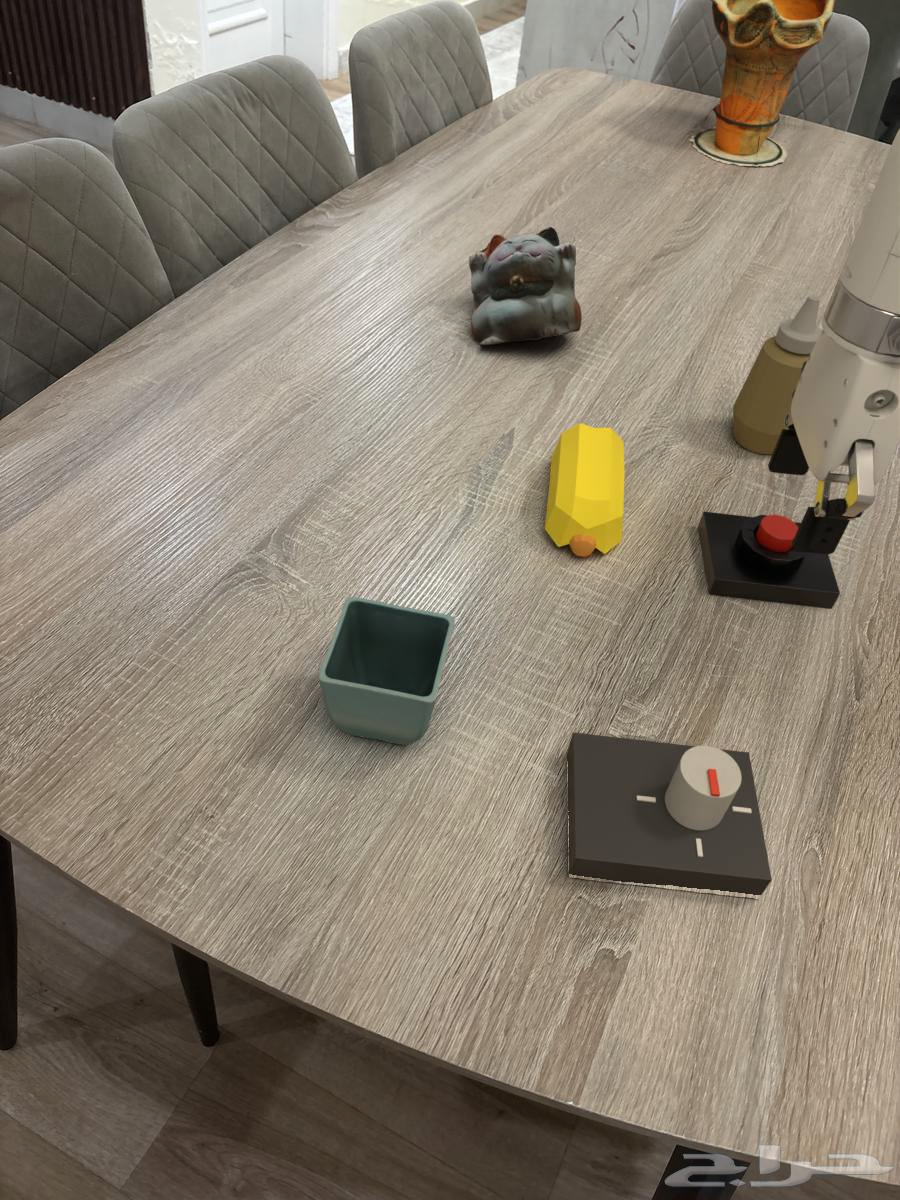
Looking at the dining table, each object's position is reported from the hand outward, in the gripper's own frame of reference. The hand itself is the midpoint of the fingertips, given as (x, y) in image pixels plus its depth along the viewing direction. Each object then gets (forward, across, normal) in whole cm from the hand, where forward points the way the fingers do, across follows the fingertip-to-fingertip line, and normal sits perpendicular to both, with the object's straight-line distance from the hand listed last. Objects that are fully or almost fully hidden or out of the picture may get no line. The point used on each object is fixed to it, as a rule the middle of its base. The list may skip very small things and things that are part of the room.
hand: (798, 509), depth 75 cm
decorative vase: (+16, +126, -20) cm, 128 cm away
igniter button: (+12, +10, -4) cm, 16 cm away
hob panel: (+16, -20, +10) cm, 27 cm away
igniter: (+16, +10, -4) cm, 19 cm away
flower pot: (+16, -13, +32) cm, 38 cm away
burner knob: (+13, -20, +8) cm, 25 cm away
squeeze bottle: (+16, +32, -8) cm, 37 cm away
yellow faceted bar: (+16, +17, +14) cm, 27 cm away
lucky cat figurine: (+16, +51, +21) cm, 57 cm away
